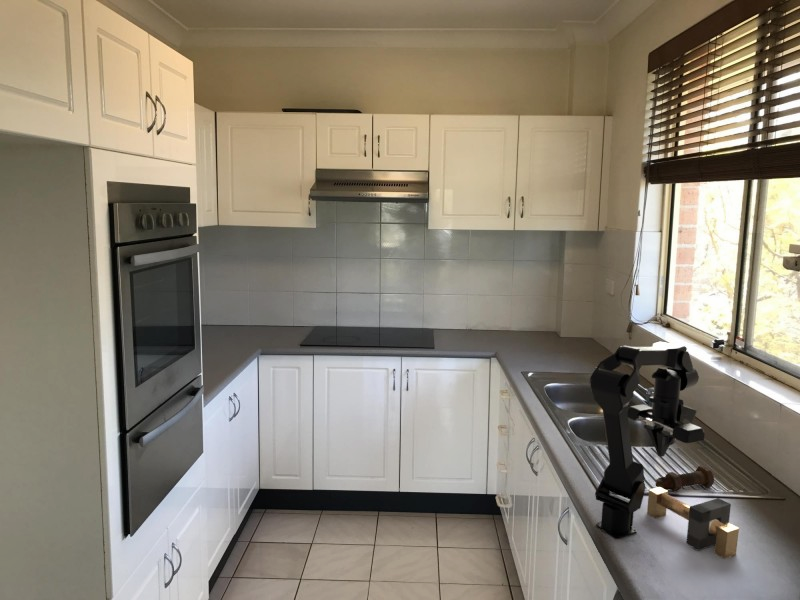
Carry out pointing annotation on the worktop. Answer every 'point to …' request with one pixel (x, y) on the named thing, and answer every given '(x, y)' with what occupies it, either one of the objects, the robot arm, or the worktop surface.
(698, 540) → the dark grey square ring
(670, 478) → the bolt
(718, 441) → the worktop surface
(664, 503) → the square head rod
